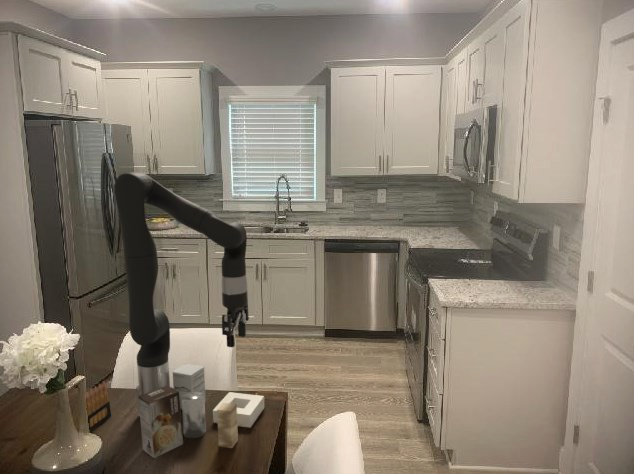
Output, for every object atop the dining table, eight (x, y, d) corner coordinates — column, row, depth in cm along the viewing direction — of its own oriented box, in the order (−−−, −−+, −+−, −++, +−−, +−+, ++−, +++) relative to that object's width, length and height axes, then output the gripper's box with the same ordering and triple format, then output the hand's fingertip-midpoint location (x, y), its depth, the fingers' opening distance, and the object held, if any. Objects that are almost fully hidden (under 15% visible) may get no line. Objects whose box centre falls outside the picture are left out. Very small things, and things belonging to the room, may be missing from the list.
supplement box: (173, 408, 160) (171, 371, 158) (187, 398, 167) (185, 362, 165) (193, 413, 157) (190, 375, 155) (206, 402, 164) (204, 365, 162)
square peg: (218, 446, 139) (217, 409, 137) (224, 438, 143) (223, 402, 141) (232, 448, 138) (230, 411, 136) (237, 440, 142) (236, 404, 140)
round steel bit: (179, 436, 144) (177, 401, 142) (190, 425, 150) (188, 390, 148) (199, 439, 142) (197, 403, 141) (209, 427, 149) (208, 393, 147)
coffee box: (171, 436, 144) (168, 384, 142) (183, 444, 140) (180, 391, 137) (141, 449, 138) (137, 395, 135) (153, 459, 133) (149, 403, 131)
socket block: (213, 422, 151) (212, 410, 151) (229, 403, 163) (229, 392, 162) (250, 427, 148) (250, 415, 148) (264, 407, 160) (264, 396, 159)
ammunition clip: (86, 434, 146) (83, 396, 144) (81, 433, 146) (77, 395, 144) (111, 416, 156) (108, 380, 154) (106, 415, 156) (103, 379, 154)
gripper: (232, 283, 157) (234, 332, 159) (212, 295, 143) (214, 349, 146) (255, 284, 155) (256, 334, 157) (236, 297, 141) (238, 351, 144)
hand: (236, 341), depth 152 cm, fingers open, 8 cm apart
